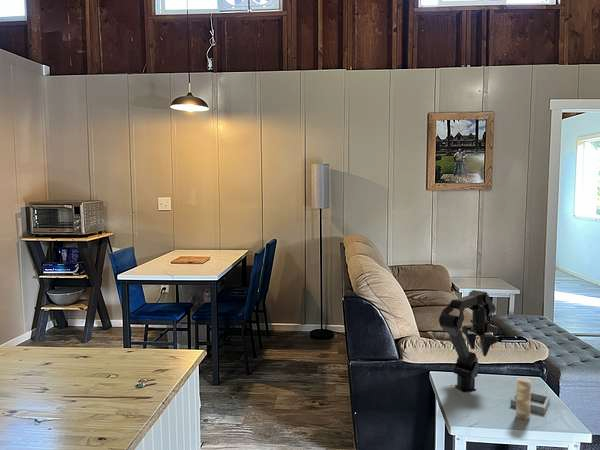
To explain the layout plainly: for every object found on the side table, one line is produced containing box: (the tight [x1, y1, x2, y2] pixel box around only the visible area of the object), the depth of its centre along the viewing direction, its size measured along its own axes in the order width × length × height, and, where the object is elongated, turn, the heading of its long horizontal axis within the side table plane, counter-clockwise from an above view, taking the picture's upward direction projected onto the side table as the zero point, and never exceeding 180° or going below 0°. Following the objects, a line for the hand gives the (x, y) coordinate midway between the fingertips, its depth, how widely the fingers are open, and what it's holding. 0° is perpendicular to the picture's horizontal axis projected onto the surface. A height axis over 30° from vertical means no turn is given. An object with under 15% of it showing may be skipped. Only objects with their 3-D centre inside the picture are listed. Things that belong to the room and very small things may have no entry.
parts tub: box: [510, 390, 551, 415], centre depth 181 cm, size 12×12×2 cm
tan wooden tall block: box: [515, 377, 532, 421], centre depth 170 cm, size 5×5×14 cm
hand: (478, 352), depth 203 cm, fingers open, 9 cm apart
